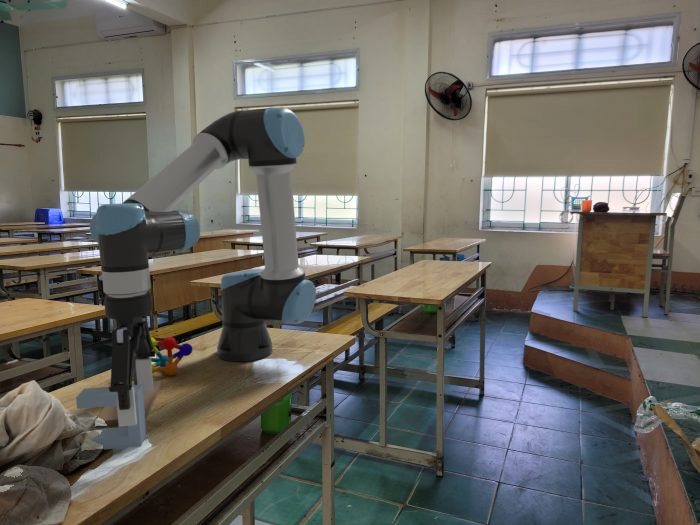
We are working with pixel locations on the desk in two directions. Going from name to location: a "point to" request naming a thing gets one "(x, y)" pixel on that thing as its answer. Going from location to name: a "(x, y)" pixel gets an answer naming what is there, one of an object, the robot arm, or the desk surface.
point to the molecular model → (169, 355)
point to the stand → (111, 414)
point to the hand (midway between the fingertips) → (137, 407)
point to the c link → (119, 435)
